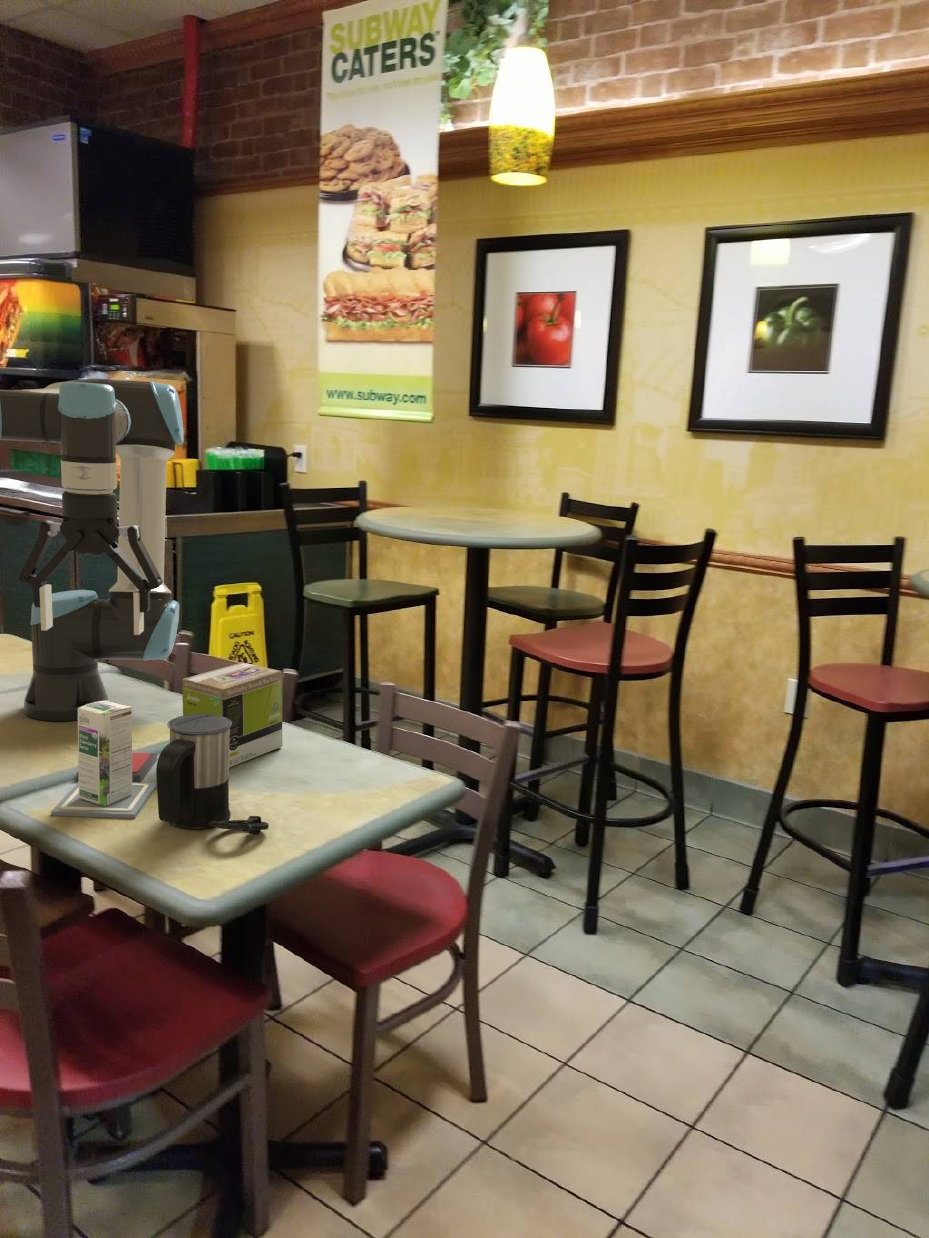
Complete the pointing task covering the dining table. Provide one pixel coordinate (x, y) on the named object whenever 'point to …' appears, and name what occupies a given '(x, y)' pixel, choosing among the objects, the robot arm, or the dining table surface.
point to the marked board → (119, 809)
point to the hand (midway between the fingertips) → (93, 630)
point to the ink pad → (140, 765)
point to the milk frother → (198, 776)
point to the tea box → (240, 706)
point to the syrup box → (105, 752)
